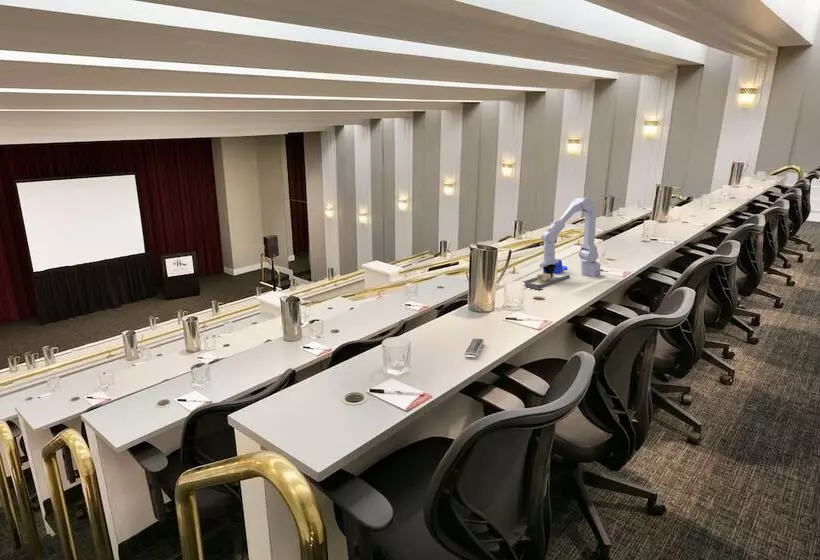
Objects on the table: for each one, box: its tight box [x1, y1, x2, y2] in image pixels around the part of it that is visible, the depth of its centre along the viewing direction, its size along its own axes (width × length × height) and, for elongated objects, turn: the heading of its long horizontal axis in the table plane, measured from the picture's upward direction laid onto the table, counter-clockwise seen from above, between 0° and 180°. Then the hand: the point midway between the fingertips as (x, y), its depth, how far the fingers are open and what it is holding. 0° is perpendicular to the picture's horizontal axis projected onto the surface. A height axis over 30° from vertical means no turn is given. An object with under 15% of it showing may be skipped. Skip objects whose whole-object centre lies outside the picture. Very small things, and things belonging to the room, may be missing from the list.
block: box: [536, 272, 551, 284], centre depth 278 cm, size 5×5×4 cm
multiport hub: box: [464, 338, 485, 357], centre depth 196 cm, size 4×14×2 cm, turn 162°
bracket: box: [542, 259, 568, 275], centre depth 301 cm, size 18×8×9 cm, turn 142°
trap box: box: [522, 274, 571, 292], centre depth 279 cm, size 12×27×3 cm, turn 130°
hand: (549, 278), depth 281 cm, fingers closed
